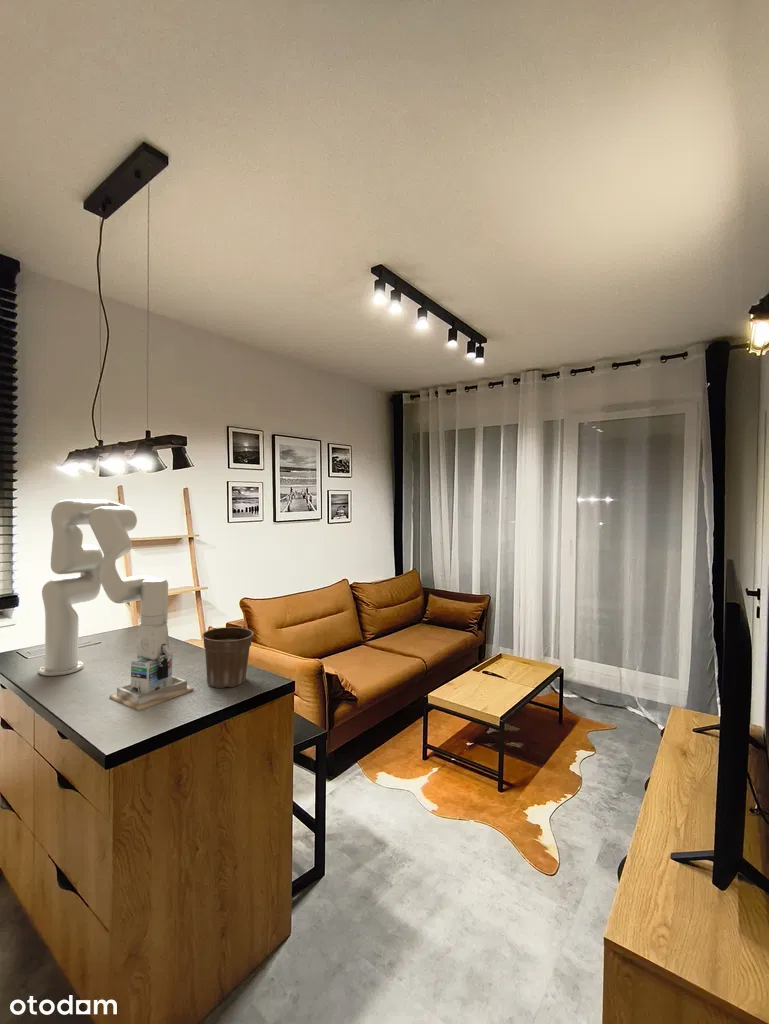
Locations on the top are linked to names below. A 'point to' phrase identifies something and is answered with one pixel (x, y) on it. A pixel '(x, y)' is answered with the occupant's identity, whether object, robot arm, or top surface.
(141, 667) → the light bulb box
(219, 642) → the plant pot
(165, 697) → the collar
